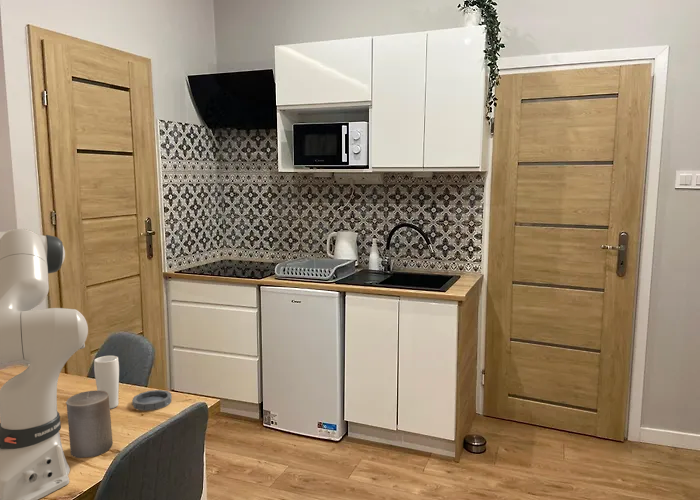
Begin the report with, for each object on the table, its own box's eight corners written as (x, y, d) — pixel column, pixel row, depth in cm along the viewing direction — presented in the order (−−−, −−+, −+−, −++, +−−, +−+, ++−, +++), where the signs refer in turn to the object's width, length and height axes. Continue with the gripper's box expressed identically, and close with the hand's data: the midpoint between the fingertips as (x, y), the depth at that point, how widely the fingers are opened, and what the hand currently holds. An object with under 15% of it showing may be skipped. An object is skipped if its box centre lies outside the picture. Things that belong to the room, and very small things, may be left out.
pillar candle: (101, 436, 142) (97, 382, 140) (119, 447, 136) (115, 391, 134) (63, 450, 135) (58, 394, 133) (81, 463, 129) (75, 403, 127)
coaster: (156, 412, 157) (155, 406, 157) (125, 408, 160) (124, 401, 160) (178, 398, 168) (178, 392, 167) (149, 394, 171) (148, 388, 171)
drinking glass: (91, 408, 160) (88, 360, 159) (111, 400, 166) (108, 354, 164) (106, 412, 157) (103, 363, 155) (126, 404, 163) (123, 357, 161)
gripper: (5, 346, 158) (41, 350, 154) (61, 328, 177) (95, 331, 173) (7, 366, 159) (43, 371, 155) (62, 346, 178) (96, 350, 174)
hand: (71, 350), depth 164 cm, fingers open, 8 cm apart
